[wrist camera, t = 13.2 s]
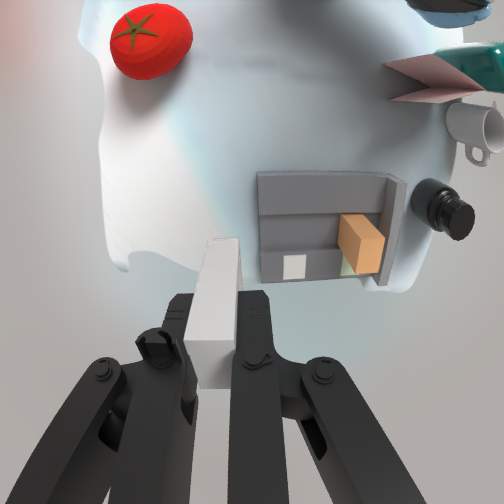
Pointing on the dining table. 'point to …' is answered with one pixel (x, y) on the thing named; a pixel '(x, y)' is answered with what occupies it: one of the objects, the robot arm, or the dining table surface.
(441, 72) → the greeting card
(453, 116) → the mug
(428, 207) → the ink bottle
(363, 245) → the lever
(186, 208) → the dining table surface
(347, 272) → the breaker housing
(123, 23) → the tomato
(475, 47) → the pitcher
